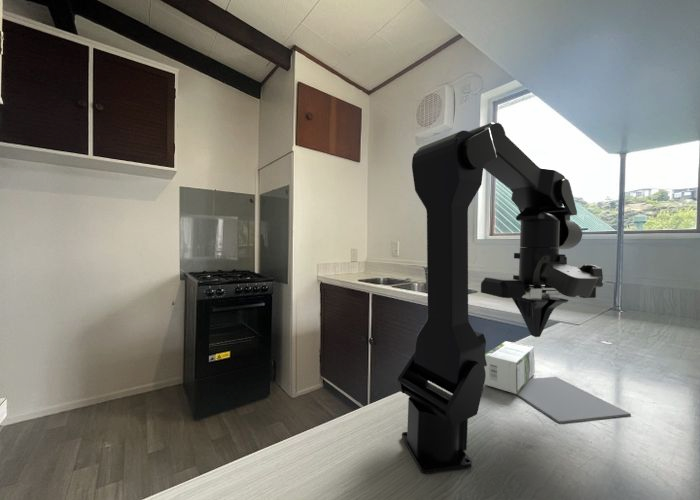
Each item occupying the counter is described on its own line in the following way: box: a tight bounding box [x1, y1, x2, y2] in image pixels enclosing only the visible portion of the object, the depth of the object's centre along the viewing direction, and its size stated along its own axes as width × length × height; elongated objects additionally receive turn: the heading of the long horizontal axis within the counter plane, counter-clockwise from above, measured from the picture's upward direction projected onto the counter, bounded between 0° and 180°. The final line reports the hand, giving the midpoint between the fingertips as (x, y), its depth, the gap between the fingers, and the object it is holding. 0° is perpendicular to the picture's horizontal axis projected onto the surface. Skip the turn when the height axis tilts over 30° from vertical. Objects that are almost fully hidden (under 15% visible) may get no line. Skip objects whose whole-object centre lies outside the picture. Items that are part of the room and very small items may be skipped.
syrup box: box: [484, 340, 536, 395], centre depth 56 cm, size 6×6×14 cm
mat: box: [513, 376, 632, 424], centre depth 50 cm, size 14×13×1 cm
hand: (535, 336), depth 49 cm, fingers closed
